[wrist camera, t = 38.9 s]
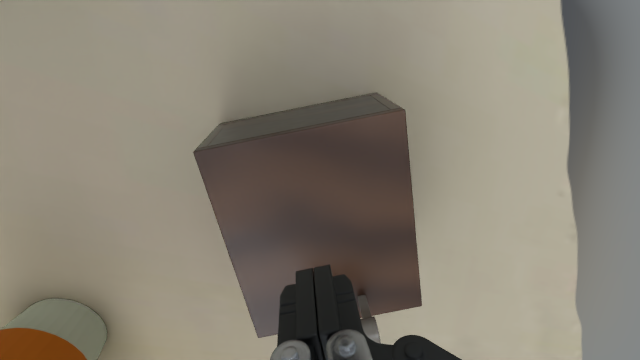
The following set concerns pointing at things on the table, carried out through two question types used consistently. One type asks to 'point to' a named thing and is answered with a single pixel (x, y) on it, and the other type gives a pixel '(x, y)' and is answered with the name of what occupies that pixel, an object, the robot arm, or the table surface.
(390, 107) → the case
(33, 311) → the reusable coffee cup
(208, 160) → the case lid
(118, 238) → the table surface
